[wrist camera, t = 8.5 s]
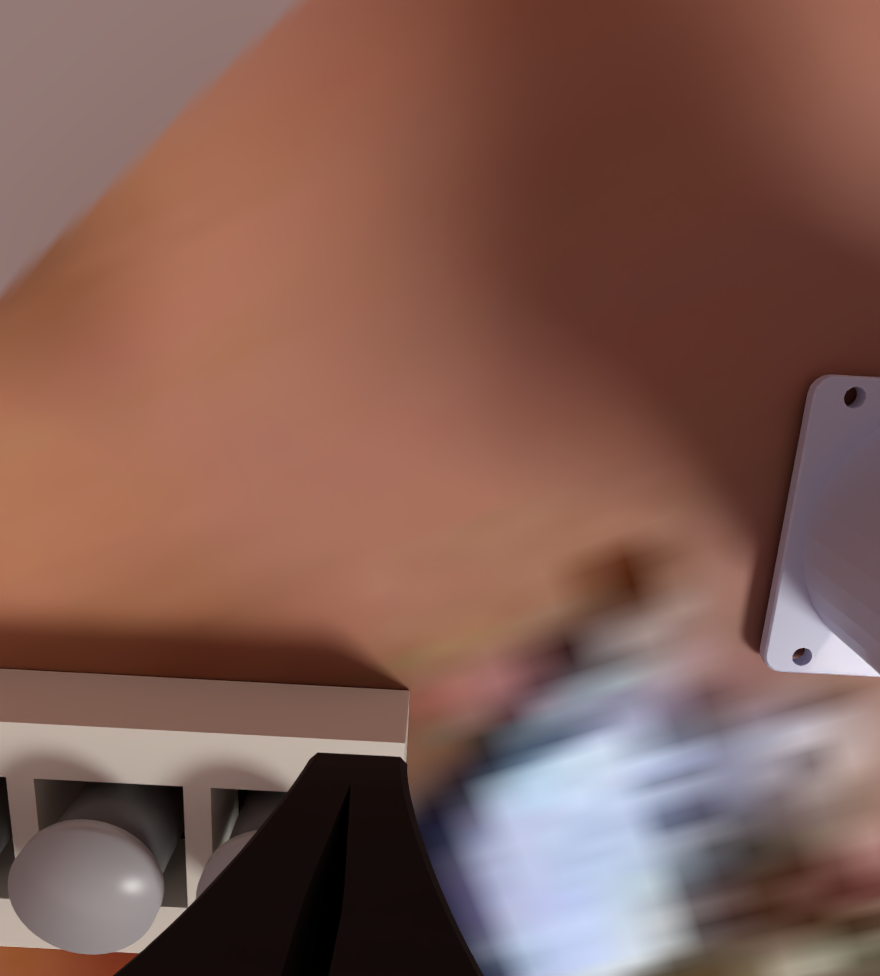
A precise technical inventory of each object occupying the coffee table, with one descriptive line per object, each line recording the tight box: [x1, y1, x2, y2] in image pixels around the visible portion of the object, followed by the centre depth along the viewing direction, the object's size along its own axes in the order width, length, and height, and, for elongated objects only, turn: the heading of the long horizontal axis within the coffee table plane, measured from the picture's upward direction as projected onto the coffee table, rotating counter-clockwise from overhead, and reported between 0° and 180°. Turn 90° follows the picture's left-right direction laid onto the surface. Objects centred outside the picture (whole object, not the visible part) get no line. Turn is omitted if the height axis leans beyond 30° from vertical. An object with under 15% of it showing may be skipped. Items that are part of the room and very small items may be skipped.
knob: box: [196, 790, 287, 899], centre depth 19 cm, size 4×4×4 cm
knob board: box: [0, 669, 410, 953], centre depth 20 cm, size 15×7×2 cm, turn 87°
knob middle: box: [8, 781, 185, 954], centre depth 19 cm, size 4×4×4 cm
